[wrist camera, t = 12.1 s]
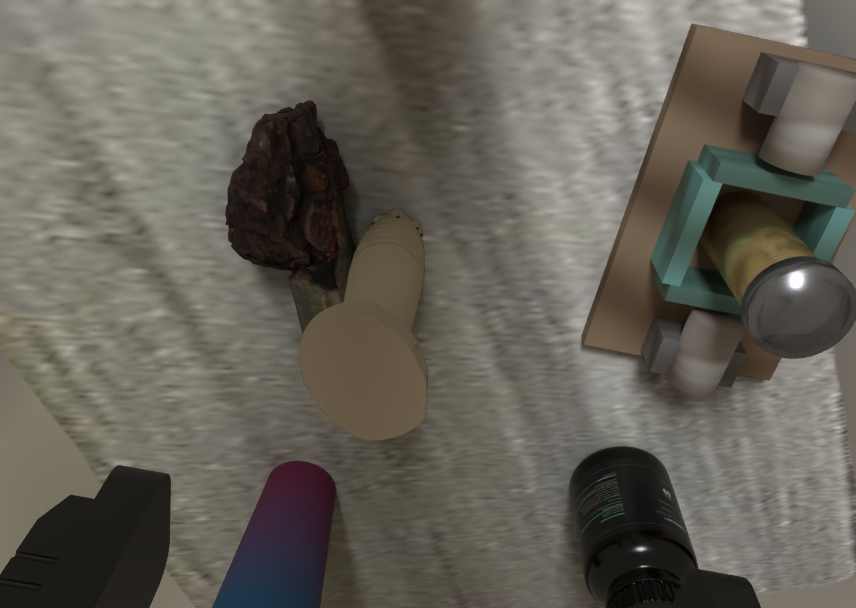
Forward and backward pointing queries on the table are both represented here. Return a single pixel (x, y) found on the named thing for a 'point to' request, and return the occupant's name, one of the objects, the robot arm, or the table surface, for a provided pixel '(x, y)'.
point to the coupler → (777, 279)
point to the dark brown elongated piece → (293, 208)
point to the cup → (283, 543)
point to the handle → (372, 337)
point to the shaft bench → (715, 176)
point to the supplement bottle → (630, 529)
